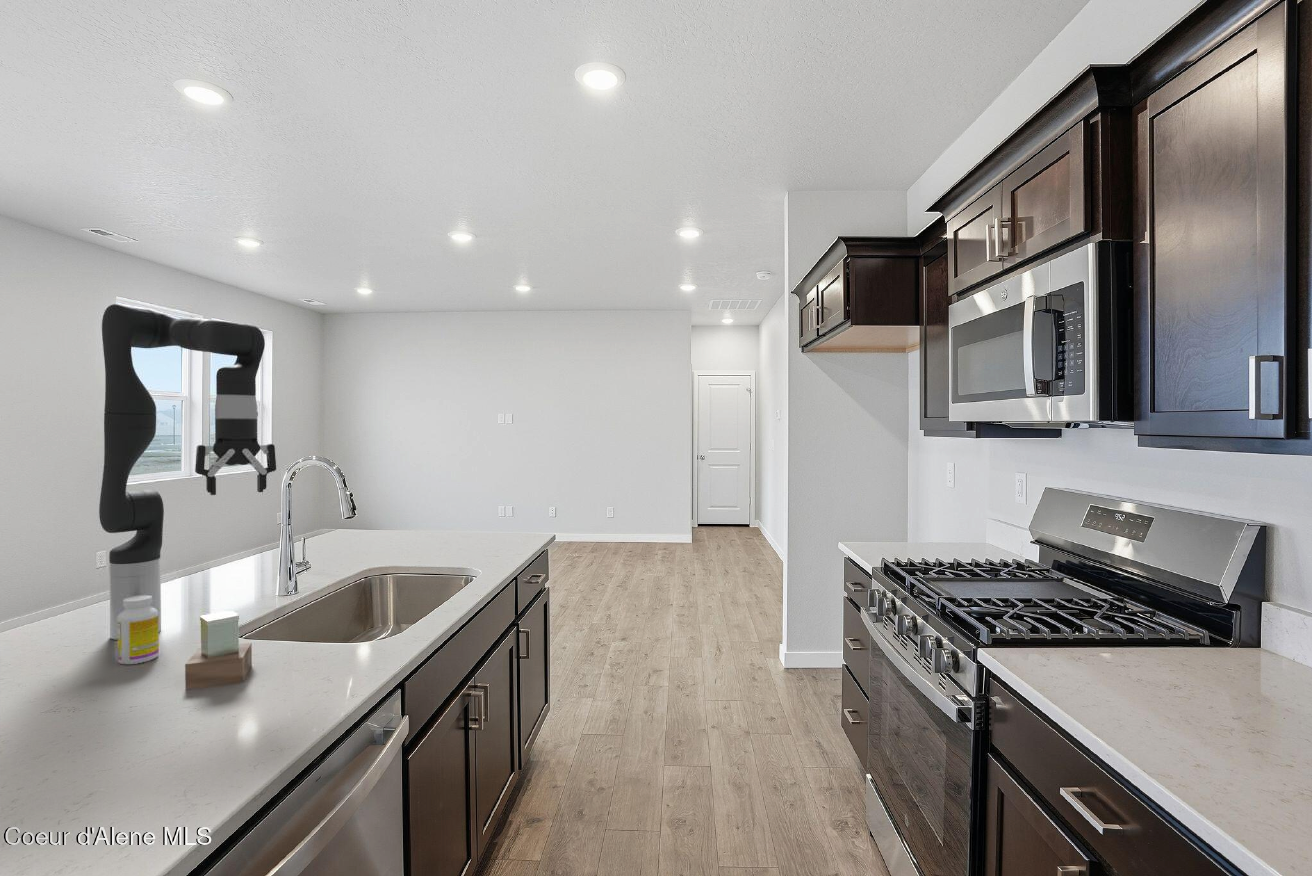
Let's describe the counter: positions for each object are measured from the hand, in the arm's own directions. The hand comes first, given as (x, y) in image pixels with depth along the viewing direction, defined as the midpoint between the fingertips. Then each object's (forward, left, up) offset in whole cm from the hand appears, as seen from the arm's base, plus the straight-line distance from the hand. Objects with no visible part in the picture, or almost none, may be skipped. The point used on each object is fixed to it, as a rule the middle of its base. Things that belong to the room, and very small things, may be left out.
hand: (237, 493), depth 137 cm
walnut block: (+13, -5, -34) cm, 37 cm away
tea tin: (+13, -5, -29) cm, 32 cm away
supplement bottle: (-9, -16, -34) cm, 39 cm away
